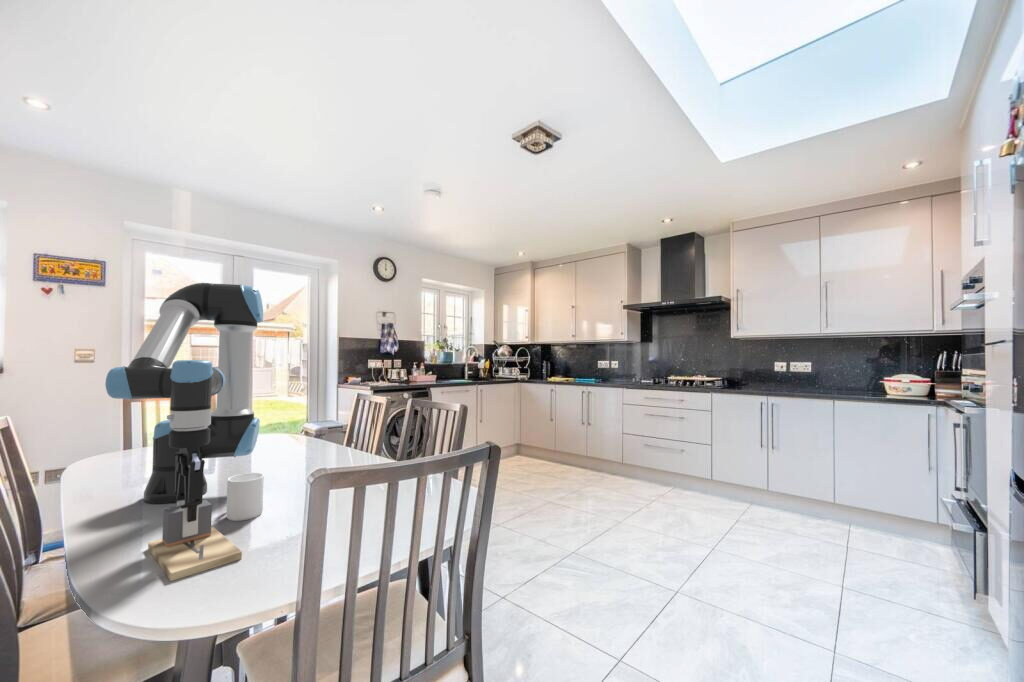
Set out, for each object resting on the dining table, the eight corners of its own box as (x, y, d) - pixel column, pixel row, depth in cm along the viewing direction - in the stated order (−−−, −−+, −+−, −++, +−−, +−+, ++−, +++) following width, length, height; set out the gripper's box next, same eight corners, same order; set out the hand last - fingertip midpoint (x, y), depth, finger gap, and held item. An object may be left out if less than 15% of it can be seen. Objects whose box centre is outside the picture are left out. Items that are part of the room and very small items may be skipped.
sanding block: (162, 541, 96) (163, 509, 96) (205, 529, 102) (206, 500, 102) (167, 546, 93) (168, 514, 93) (210, 535, 99) (211, 504, 99)
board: (148, 548, 95) (148, 541, 95) (212, 532, 104) (212, 525, 104) (170, 581, 82) (171, 573, 82) (241, 558, 91) (241, 551, 91)
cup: (233, 523, 109) (235, 483, 110) (215, 512, 117) (217, 474, 117) (268, 514, 116) (269, 476, 116) (249, 504, 123) (250, 468, 123)
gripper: (160, 425, 101) (156, 526, 100) (180, 435, 89) (176, 549, 89) (198, 421, 106) (195, 517, 106) (222, 430, 95) (218, 537, 94)
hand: (186, 531), depth 97 cm, fingers closed on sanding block, 4 cm apart
